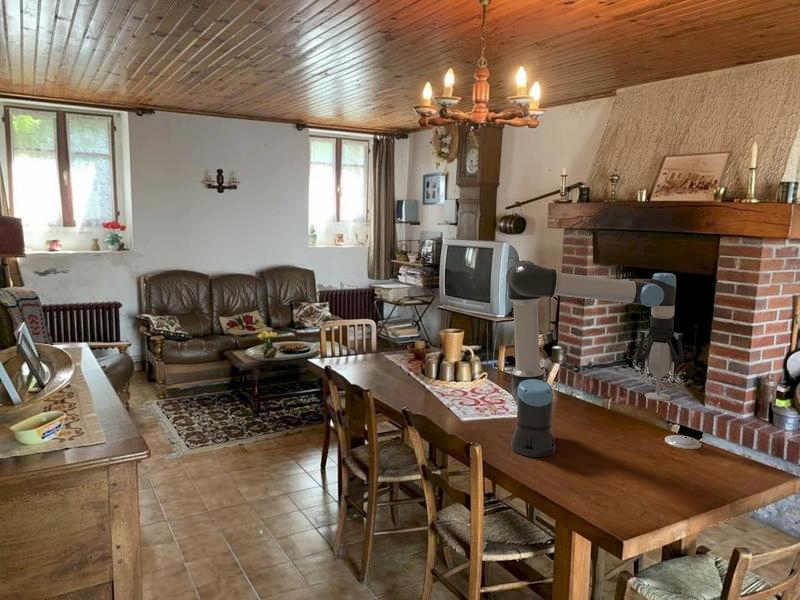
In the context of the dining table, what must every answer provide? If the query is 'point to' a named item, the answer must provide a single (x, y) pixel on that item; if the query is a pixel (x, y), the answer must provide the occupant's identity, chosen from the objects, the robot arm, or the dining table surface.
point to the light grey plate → (682, 442)
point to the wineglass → (659, 368)
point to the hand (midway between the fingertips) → (658, 378)
